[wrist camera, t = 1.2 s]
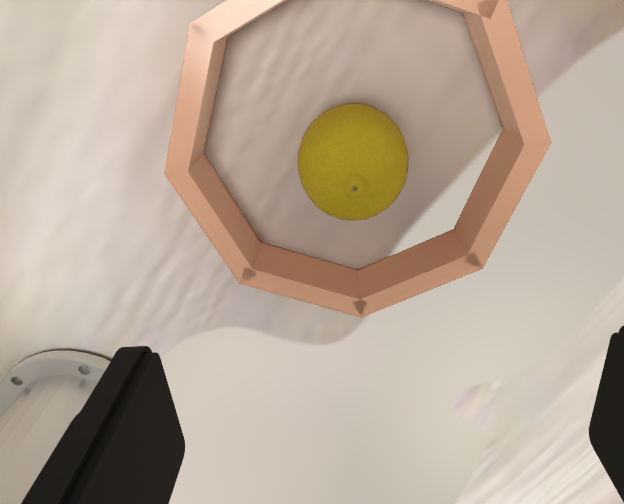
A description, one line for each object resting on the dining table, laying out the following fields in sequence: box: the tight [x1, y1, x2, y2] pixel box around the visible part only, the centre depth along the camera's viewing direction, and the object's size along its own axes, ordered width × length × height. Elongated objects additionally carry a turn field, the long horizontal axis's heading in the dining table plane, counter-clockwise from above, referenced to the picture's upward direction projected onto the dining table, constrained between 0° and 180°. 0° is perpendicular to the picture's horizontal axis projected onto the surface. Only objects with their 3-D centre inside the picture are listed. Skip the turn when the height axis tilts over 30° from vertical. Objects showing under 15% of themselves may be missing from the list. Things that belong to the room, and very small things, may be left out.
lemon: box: [298, 104, 408, 221], centre depth 25 cm, size 6×6×8 cm
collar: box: [164, 0, 551, 317], centre depth 27 cm, size 18×18×4 cm
